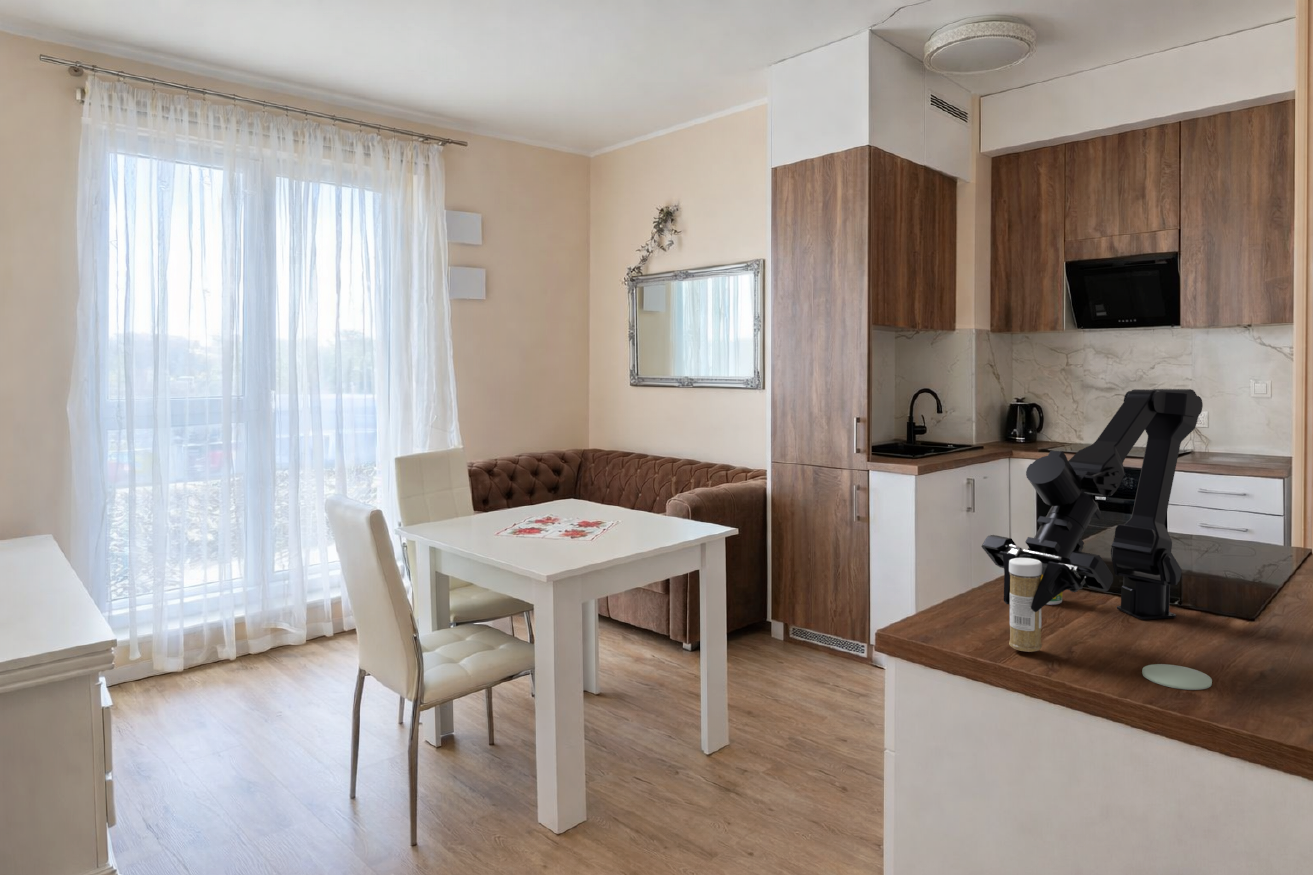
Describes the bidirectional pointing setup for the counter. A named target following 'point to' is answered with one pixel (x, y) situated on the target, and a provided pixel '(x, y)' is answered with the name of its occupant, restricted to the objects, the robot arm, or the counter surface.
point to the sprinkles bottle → (1024, 604)
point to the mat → (1177, 676)
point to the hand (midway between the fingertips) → (1019, 606)
